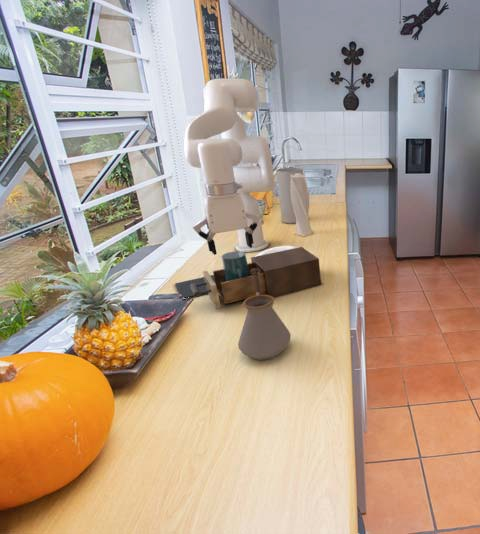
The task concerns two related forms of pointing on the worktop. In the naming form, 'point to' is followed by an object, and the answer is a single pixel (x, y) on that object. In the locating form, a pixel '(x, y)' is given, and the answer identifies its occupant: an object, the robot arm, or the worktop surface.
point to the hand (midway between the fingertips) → (232, 249)
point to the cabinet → (288, 271)
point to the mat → (186, 290)
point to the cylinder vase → (286, 193)
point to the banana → (275, 250)
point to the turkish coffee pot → (262, 327)
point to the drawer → (230, 286)
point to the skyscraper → (300, 203)
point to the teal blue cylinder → (235, 265)
